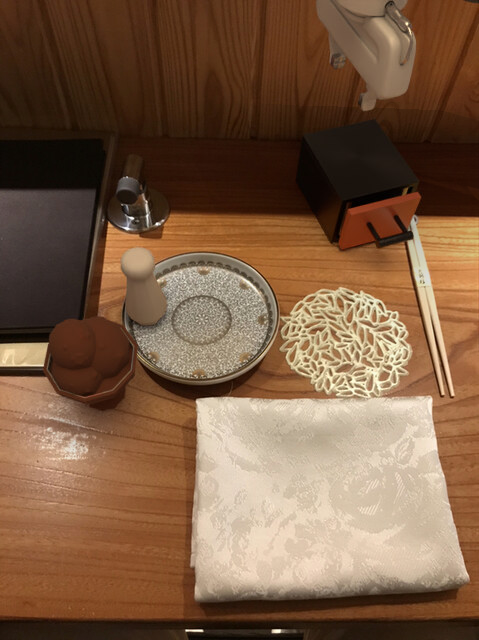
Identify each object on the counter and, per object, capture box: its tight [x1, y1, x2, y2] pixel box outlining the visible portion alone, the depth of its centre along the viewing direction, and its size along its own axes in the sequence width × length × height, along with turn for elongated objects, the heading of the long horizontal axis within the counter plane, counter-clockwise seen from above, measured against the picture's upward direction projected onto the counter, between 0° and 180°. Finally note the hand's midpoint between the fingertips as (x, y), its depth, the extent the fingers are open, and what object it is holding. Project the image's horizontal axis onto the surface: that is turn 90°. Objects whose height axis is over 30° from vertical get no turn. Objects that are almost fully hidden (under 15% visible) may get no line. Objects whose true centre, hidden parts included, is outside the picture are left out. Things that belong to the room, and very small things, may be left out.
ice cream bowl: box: [42, 315, 139, 412], centre depth 67 cm, size 11×11×15 cm
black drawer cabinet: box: [295, 118, 420, 244], centre depth 89 cm, size 15×13×10 cm
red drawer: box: [337, 188, 422, 250], centre depth 86 cm, size 18×11×8 cm, turn 19°
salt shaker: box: [120, 246, 168, 327], centre depth 75 cm, size 6×6×13 cm
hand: (350, 86), depth 77 cm, fingers open, 8 cm apart
